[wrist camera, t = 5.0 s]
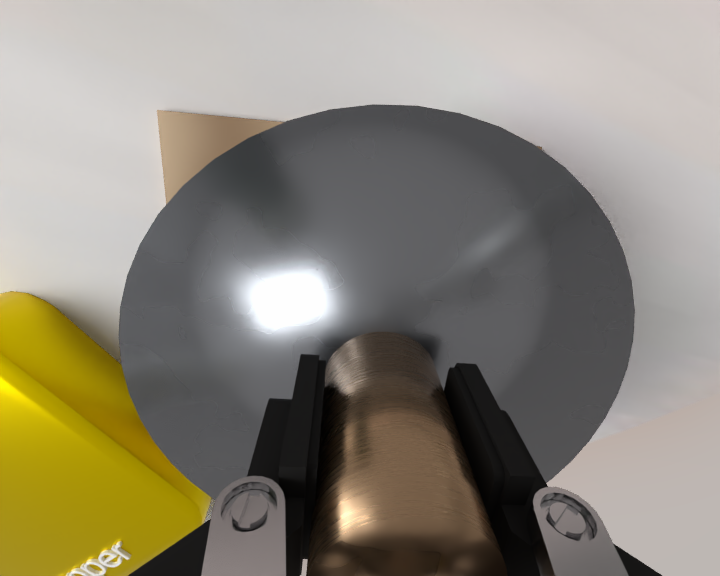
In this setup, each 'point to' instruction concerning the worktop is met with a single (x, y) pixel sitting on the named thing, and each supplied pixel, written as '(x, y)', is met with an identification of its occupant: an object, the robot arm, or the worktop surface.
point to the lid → (378, 320)
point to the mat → (199, 142)
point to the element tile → (78, 456)
